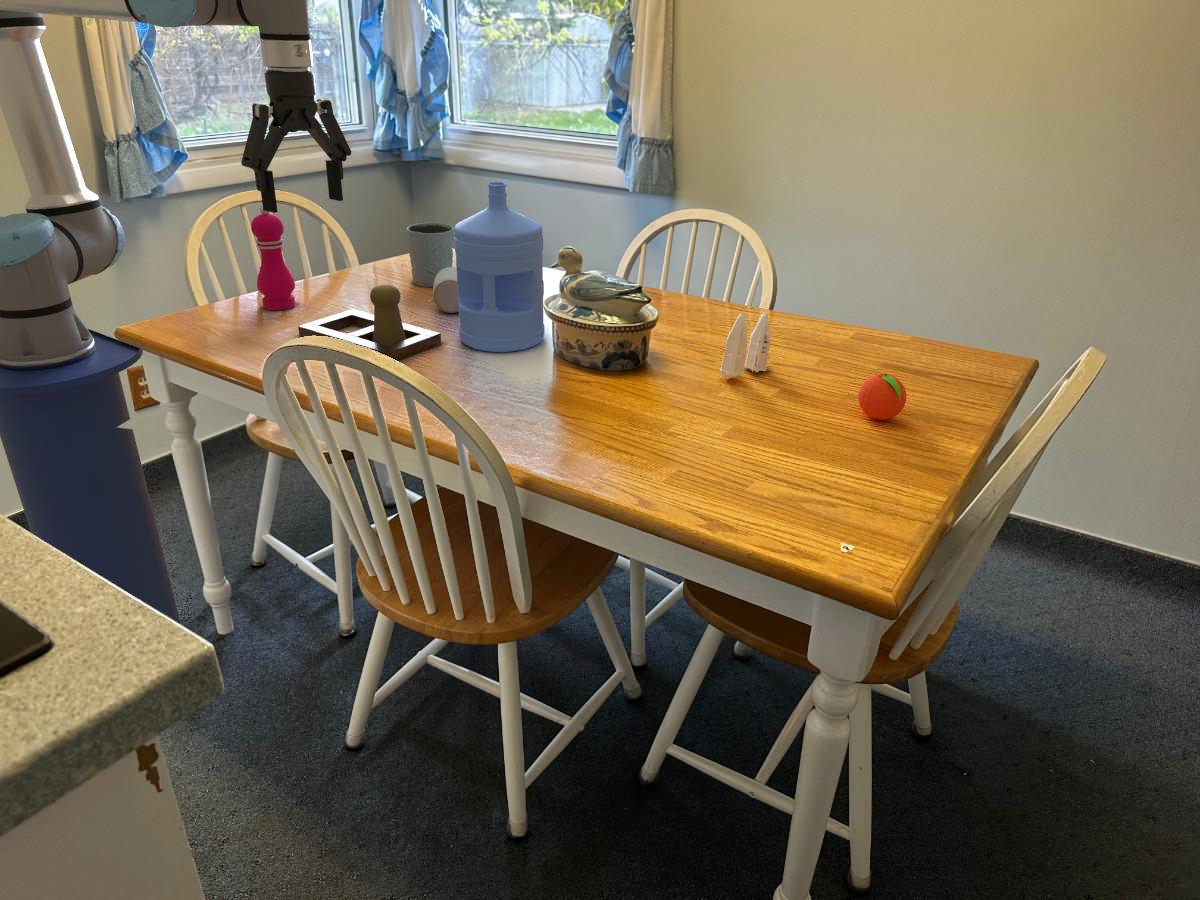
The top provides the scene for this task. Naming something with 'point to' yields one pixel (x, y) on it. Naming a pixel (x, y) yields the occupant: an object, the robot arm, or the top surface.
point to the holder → (371, 334)
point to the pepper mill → (272, 263)
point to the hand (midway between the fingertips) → (304, 205)
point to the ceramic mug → (446, 290)
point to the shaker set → (738, 346)
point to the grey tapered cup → (429, 251)
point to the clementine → (882, 396)
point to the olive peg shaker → (387, 315)
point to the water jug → (499, 277)
